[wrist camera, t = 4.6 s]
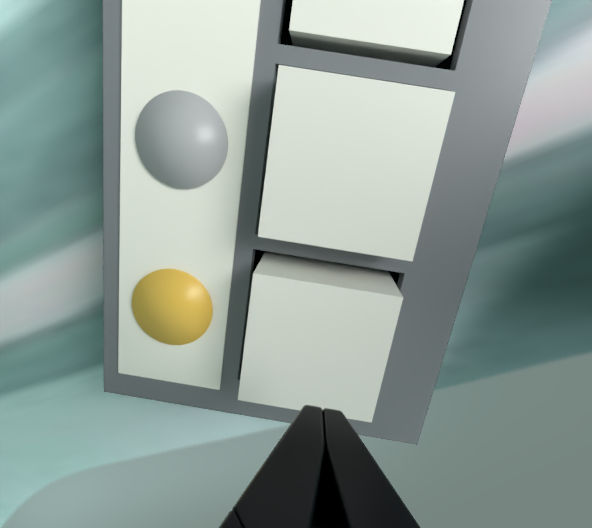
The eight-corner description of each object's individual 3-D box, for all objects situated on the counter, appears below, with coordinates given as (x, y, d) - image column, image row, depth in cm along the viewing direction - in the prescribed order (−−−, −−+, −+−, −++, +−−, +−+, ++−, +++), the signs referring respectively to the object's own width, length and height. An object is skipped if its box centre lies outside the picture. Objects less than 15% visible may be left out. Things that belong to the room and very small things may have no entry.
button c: (388, 271, 13) (403, 297, 11) (363, 377, 14) (371, 422, 12) (265, 251, 13) (253, 272, 11) (251, 359, 15) (237, 399, 12)
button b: (427, 104, 12) (455, 91, 9) (395, 241, 13) (412, 261, 10) (287, 82, 12) (278, 64, 9) (269, 220, 13) (257, 236, 11)
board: (545, -134, 11) (629, -241, 8) (400, 394, 17) (418, 448, 14) (156, -190, 11) (96, -315, 8) (140, 351, 17) (100, 394, 14)
